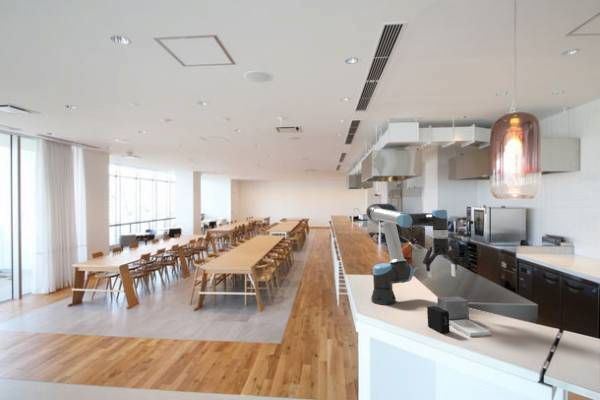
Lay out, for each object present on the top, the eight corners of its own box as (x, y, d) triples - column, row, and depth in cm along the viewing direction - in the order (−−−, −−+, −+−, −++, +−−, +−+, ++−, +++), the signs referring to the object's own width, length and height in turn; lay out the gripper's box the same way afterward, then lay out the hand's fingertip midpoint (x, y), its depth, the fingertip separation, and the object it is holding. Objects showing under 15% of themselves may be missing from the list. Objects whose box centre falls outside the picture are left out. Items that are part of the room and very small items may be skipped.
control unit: (435, 317, 163) (434, 297, 163) (459, 316, 165) (458, 295, 165) (446, 324, 153) (445, 302, 154) (472, 322, 155) (471, 300, 155)
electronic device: (442, 334, 141) (441, 312, 141) (427, 326, 150) (426, 306, 151) (449, 333, 142) (448, 311, 142) (435, 325, 152) (434, 305, 152)
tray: (448, 324, 153) (448, 320, 153) (466, 322, 154) (466, 319, 154) (469, 336, 137) (469, 332, 137) (490, 335, 139) (490, 331, 139)
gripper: (422, 238, 163) (423, 279, 162) (466, 237, 165) (467, 277, 164) (415, 237, 170) (416, 276, 169) (457, 236, 173) (459, 274, 172)
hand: (441, 276), depth 167 cm, fingers open, 13 cm apart
